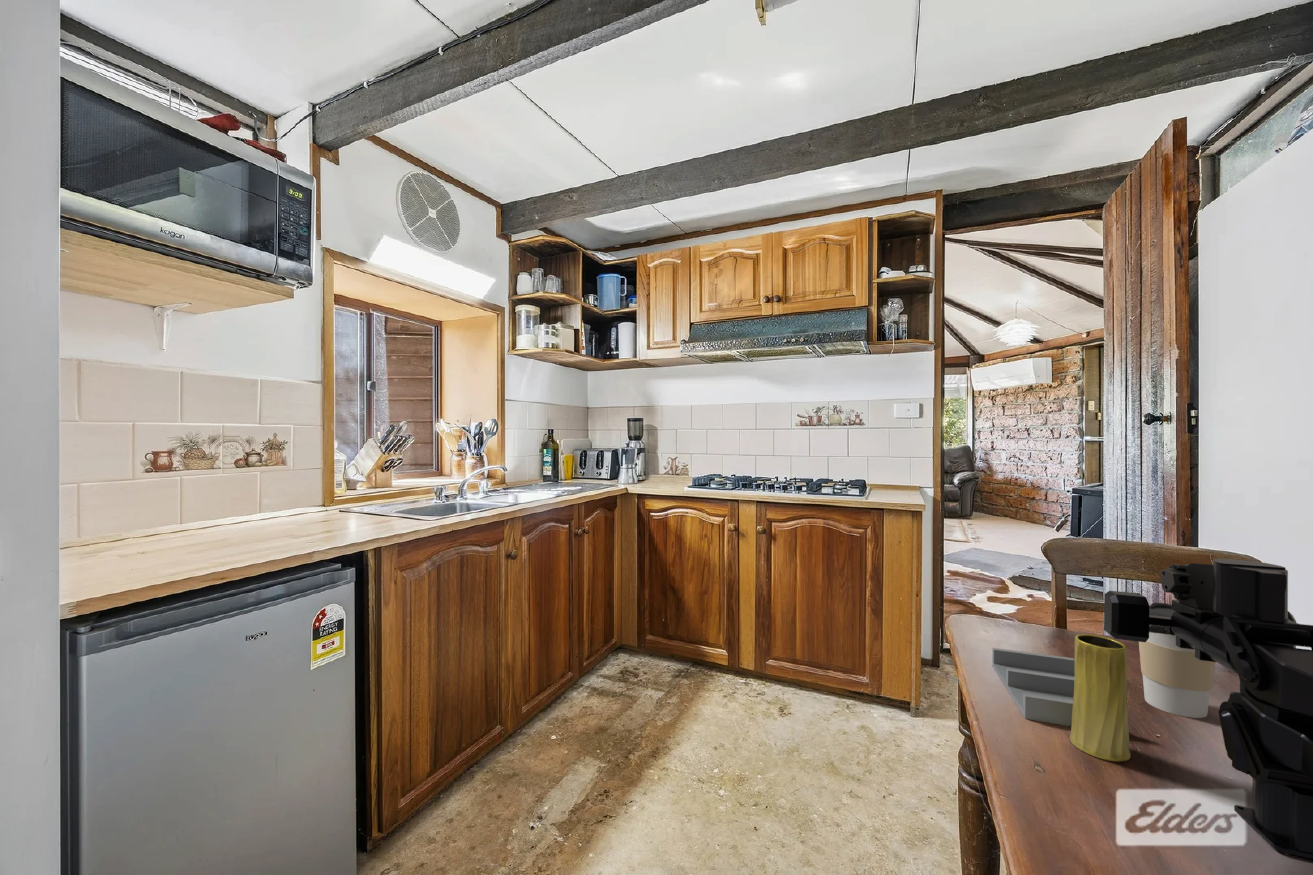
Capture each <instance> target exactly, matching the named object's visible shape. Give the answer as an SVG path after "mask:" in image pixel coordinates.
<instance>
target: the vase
mask: <svg viewBox="0 0 1313 875" xmlns="http://www.w3.org/2000/svg"><path fill="white" fill-rule="evenodd" d="M1074 660H1075V680H1074V696H1073V709H1072V726H1070V727H1071V729H1070V735H1069V740H1070V742H1071V744H1072V745H1073V746H1075V747H1076V748H1077V749H1078V750H1080V751H1082V752H1083V753H1085V754H1088V755H1090V756H1092V757H1094V758H1097V759H1100V760H1104V761H1108V762H1116V763H1117V762H1119V763H1122V762H1127V761H1129V760H1130V759H1131V756H1132V755H1131V751H1130V732H1129V731H1130V729H1129V708H1128V647H1127V645H1126V644H1125V643H1123V642H1122V641H1119V640H1118V639H1115V638H1111V637H1107V636H1103V635H1098V634H1097V635H1096V634H1092V633H1091V634H1090V633H1089V634H1087V633H1085V634H1083V633H1082V634H1078V635H1077V634H1076V635H1075V637H1074Z"/></svg>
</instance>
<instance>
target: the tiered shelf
mask: <svg viewBox="0 0 1313 875" xmlns="http://www.w3.org/2000/svg"><path fill="white" fill-rule="evenodd" d="M991 650H992V651H991V652H992V654H991V656H992V657H991V661H992V665H991V666H992V668H993V670H994V671H995V673H996V675H997V676H998V677H999V679H1000V681H1001V682H1002V684H1003V686H1004V688H1005V689H1006V690H1007V692H1008V694H1009V695H1010V696H1011V699H1012V700H1013V701H1014V703H1015V705H1016V706H1017V708H1018V709H1019V711H1020V713H1021V714H1022V716H1023V717H1024V719H1025V720H1030V721H1037V722H1041V723H1042V722H1043V723H1047V724H1054V725H1059V726H1060V725H1061V726H1065V727H1071V726H1072V709H1073V696H1074V680H1075V658H1074V657H1067V656H1059V655H1053V654H1044V653H1037V652H1029V651H1022V650H1013V649H1007V648H1006V649H1005V648H998V647H991Z"/></svg>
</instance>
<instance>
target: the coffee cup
mask: <svg viewBox="0 0 1313 875" xmlns="http://www.w3.org/2000/svg"><path fill="white" fill-rule="evenodd" d="M1149 606H1150V609H1149V614H1151V615H1161V616H1170V617H1172V615H1173V613H1174V612H1175V611H1174V610H1172V608H1171V607H1172V604H1169V603H1163V602H1153V603H1150V604H1149ZM1149 626H1150V625H1149ZM1152 626H1153V625H1152ZM1156 627H1157V625H1156ZM1160 627H1161V626H1160ZM1163 627H1165V626H1163ZM1166 627H1167V626H1166ZM1167 628H1168V627H1167ZM1138 647H1139V650H1138V651H1139V659H1140V661H1139V662H1140V672H1141V674H1142V683H1143V693H1144V700H1145V701H1144V702H1147V704H1149V706H1152V707H1153V708H1156V709H1158V710H1161V711H1163V712H1167V713H1169V714H1173V715H1174V716H1175V715H1176V716H1179V717H1185V718H1192V719H1202V718H1207V716H1208V710H1209V702H1210V696H1211V691H1212V689H1213V684H1214V676H1215V675H1214V674H1215V668H1216V662H1211V661H1203V660H1199V659H1197V658H1196V657H1195V650H1194V649H1186V648H1180V647H1178V646H1176V635H1169V634H1160V633H1151V632H1149V639H1148V640H1147V641H1146V642H1138Z"/></svg>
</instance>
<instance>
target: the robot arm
mask: <svg viewBox="0 0 1313 875" xmlns="http://www.w3.org/2000/svg"><path fill="white" fill-rule="evenodd" d="M1159 577H1160V582H1161V587H1162V588H1161V589H1162V590H1163V591H1164V593H1169V594H1172V595H1173V597H1174V599H1171V605H1172V607H1171V608H1172V610H1174V611H1175V612H1174V613H1173V615H1172V617H1170V616H1161V615H1151V614H1149V609H1150V603H1149V601H1148V599H1147V596H1145V595H1143V594H1141V593H1140V592H1129V591H1128V592H1126V591H1116V590H1108V591H1107V592H1105V593H1104V594H1103V595H1104V596H1103V597H1104V598H1103V599H1104V603H1103V604H1104V606H1103V609H1104V610H1103V614H1104V615H1103V630H1104V631H1105V632H1106V633H1107V634H1108V635H1109V636H1110V637H1112V639H1114V640H1120V641H1121V640H1122V641H1123V640H1124V641H1132V642H1138V643H1139V642H1146V641H1147V640H1148V639H1149V632H1151V633H1160V634H1169V635H1176V646H1178V647H1180V648H1186V649H1194V650H1195V657H1196V658H1197V659H1199V660H1203V661H1211V662H1215V663H1218V664H1220V666H1222V667H1224V668H1226V669H1228V670H1229V671H1231V672H1233V673H1234V674H1236V675H1237V676H1238V680H1239V692H1238V691H1237V692H1236V691H1231V692H1230V693H1229V697H1228V700H1227V701H1225V700H1224V701H1222V702H1221V703H1220V705H1219V708H1218V711H1217V712H1218V717H1219V723H1220V729H1221V731H1222V732H1221V733H1222V738H1223V743H1224V747H1225V750H1226V755H1227V757H1228V759H1230V760H1231V767H1232V768H1234V769H1235V770H1236V771H1238V772H1241V773H1244V774H1245V775H1249V776H1250V777H1251V778H1252V791H1251V792H1252V798H1251V799H1252V800H1251V802H1252V803H1251V804H1252V807H1248V806H1243V805H1238V804H1237V805H1236V804H1235V805H1233V809H1234V810H1233V811H1234V812H1235V813H1237V814H1238V815H1239V817H1240V818H1242V819H1243V820H1244V821H1245V822H1246V824H1248V825H1249V826H1250V827H1251V828H1252V829H1253V831H1255V832H1256V833H1257V834H1258V835H1259V836H1260V835H1261V836H1262V837H1261V836H1260V837H1261V838H1262V839H1263V840H1265V842H1266V843H1268V845H1270V846H1271V847H1272V848H1273V849H1275V850H1276V851H1278V852H1280V853H1283V852H1284V854H1288V853H1290V854H1289V855H1292V854H1293V856H1298V857H1302V858H1303V857H1304V858H1307V859H1311V860H1312V859H1313V624H1305V623H1304V624H1303V623H1302V624H1301V623H1297V621H1296V619H1295V617H1294V615H1293V614H1292V613H1291V612H1290V611H1289V605H1288V602H1289V596H1288V595H1289V593H1288V592H1289V570H1288V569H1286V566H1282V565H1277V564H1273V563H1272V564H1271V563H1267V562H1261V561H1255V560H1246V559H1236V558H1235V559H1234V558H1214V559H1212V564H1207V563H1206V564H1205V563H1195V562H1194V563H1188V564H1175V563H1170V564H1169V565H1168V568H1167V569H1165V568H1164V569H1161V571H1160V573H1159ZM1149 625H1150V626H1149ZM1152 625H1153V626H1152ZM1156 625H1157V627H1156ZM1160 626H1161V627H1160ZM1163 626H1165V627H1163ZM1166 626H1167V627H1168V628H1167V627H1166ZM1298 647H1302V648H1298ZM1303 647H1304V648H1303ZM1306 648H1310V649H1306Z"/></svg>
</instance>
